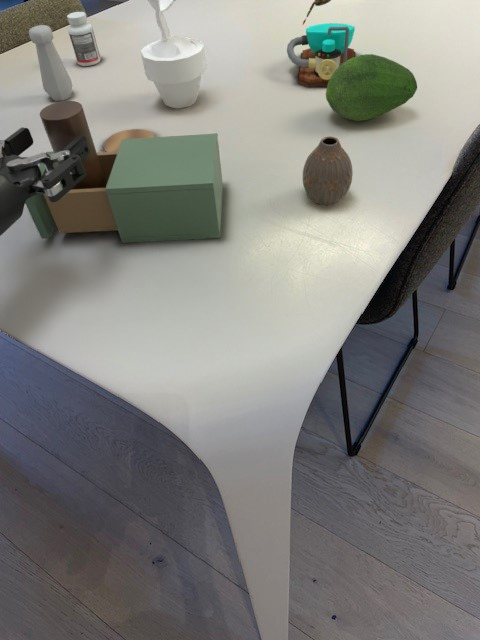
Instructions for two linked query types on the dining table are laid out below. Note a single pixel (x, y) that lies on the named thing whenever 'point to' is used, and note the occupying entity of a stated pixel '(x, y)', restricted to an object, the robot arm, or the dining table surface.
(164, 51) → the potted plant
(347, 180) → the vase
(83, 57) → the pill bottle
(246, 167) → the dining table surface
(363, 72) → the fruit
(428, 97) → the dining table surface
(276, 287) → the dining table surface
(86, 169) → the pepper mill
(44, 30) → the salt shaker
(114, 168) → the cabinet
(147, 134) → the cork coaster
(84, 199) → the drawer
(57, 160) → the robot arm
